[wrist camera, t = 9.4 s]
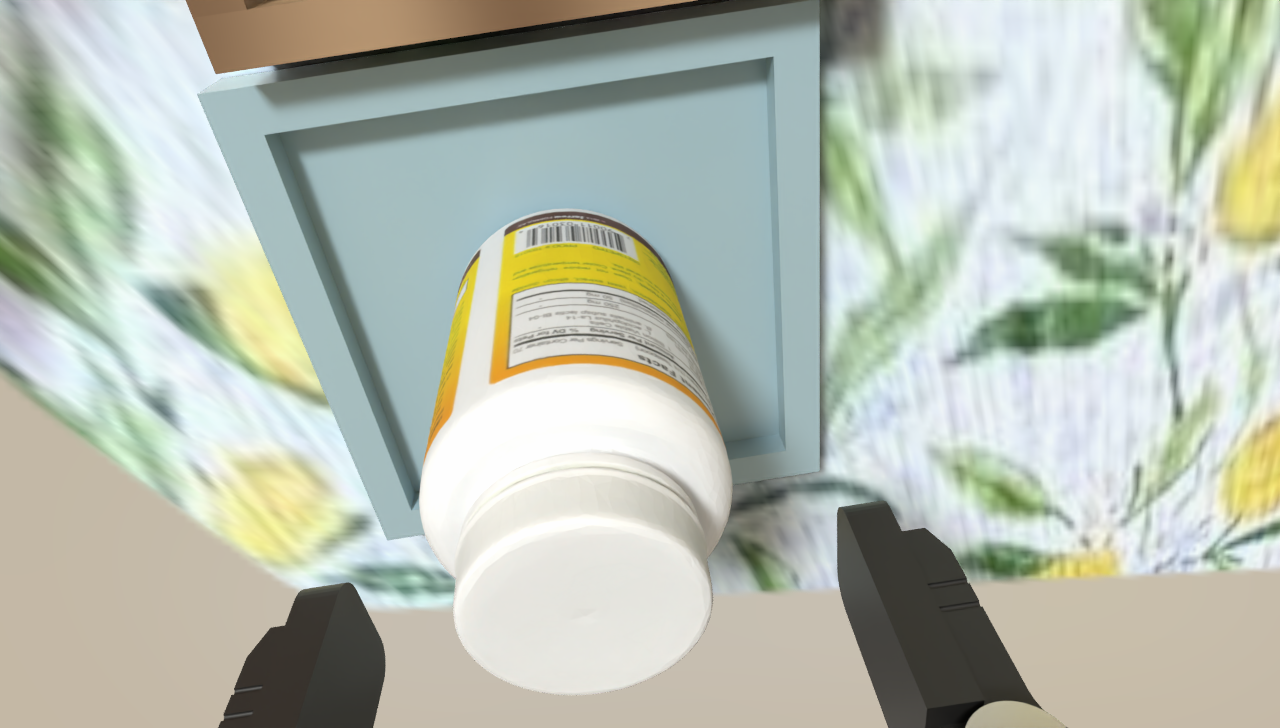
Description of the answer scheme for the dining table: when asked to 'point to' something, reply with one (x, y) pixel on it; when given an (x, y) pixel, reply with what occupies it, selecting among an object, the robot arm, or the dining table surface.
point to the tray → (545, 207)
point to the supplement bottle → (574, 460)
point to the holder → (366, 24)
